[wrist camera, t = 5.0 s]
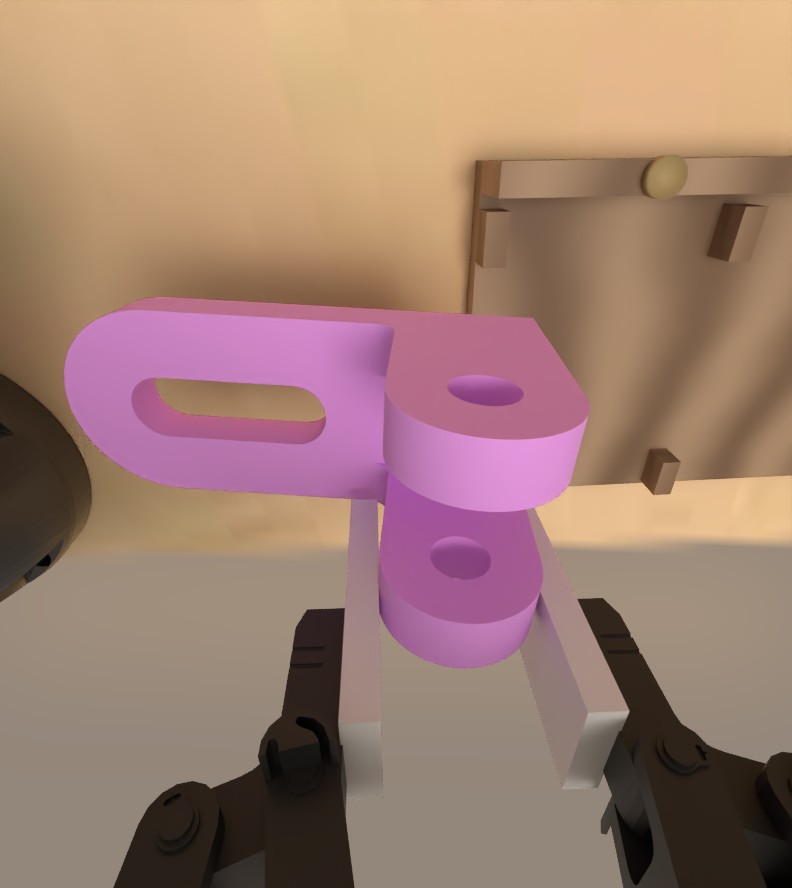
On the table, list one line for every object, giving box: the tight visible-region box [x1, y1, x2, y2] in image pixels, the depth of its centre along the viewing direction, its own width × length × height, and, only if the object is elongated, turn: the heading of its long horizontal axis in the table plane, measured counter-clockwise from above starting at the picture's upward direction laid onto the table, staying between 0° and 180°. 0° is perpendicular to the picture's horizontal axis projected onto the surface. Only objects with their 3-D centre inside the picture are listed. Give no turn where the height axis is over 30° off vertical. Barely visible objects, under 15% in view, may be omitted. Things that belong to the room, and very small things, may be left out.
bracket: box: [64, 297, 590, 668], centre depth 12 cm, size 13×6×7 cm, turn 88°
